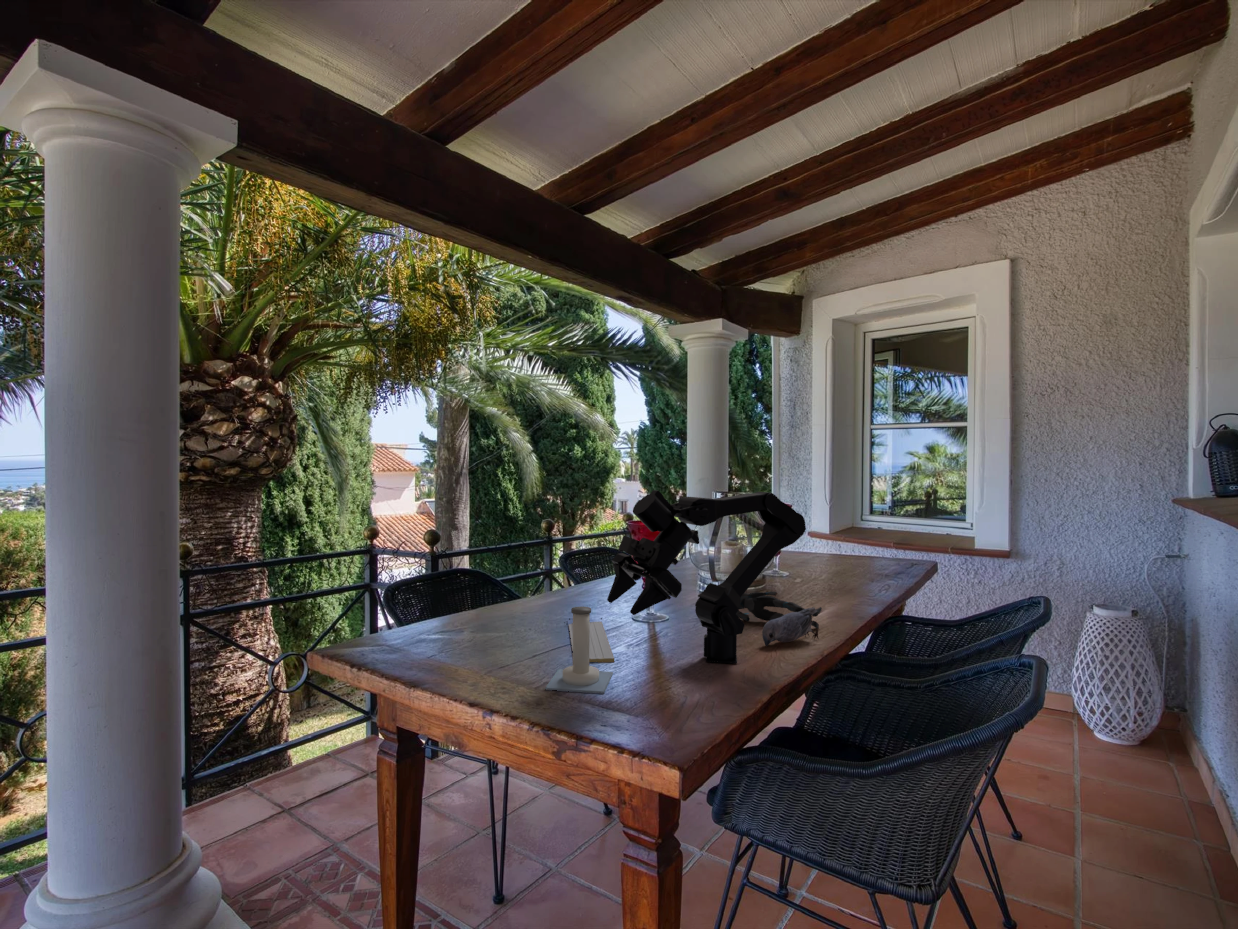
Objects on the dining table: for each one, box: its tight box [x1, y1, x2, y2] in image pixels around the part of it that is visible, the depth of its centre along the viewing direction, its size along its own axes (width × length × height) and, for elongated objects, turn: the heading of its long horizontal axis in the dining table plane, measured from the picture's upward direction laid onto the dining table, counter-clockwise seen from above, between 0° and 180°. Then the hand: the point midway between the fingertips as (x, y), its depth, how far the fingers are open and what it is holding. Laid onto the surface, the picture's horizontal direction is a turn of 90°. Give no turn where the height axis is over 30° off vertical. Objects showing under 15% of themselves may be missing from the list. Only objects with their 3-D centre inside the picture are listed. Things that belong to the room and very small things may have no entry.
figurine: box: [736, 591, 823, 629], centre depth 175 cm, size 11×9×30 cm
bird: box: [761, 607, 820, 647], centre depth 155 cm, size 5×16×8 cm, turn 122°
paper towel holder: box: [563, 606, 600, 686], centre depth 126 cm, size 7×7×14 cm
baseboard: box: [563, 617, 615, 663], centre depth 153 cm, size 30×3×10 cm
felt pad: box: [544, 668, 614, 695], centre depth 126 cm, size 11×11×1 cm
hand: (619, 607), depth 130 cm, fingers open, 9 cm apart
